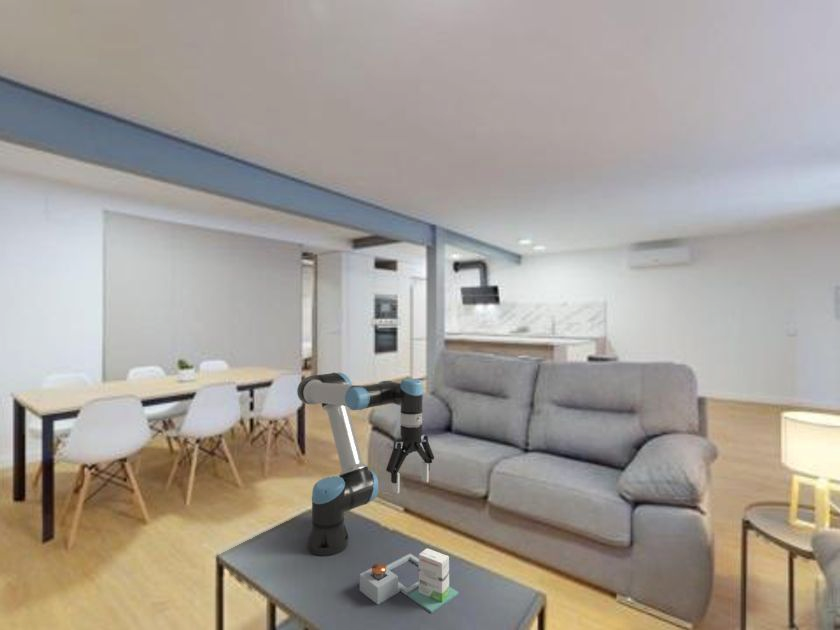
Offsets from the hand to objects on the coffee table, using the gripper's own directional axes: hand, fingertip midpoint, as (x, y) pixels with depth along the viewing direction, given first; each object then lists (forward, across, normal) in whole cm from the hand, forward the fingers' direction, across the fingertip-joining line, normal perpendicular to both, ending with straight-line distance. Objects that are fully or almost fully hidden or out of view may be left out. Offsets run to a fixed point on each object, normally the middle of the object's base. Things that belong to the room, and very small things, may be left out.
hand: (411, 486), depth 147 cm
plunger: (+25, -17, -4) cm, 31 cm away
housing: (+27, -9, -4) cm, 28 cm away
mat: (+27, -6, -17) cm, 32 cm away
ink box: (+26, -6, -17) cm, 32 cm away
